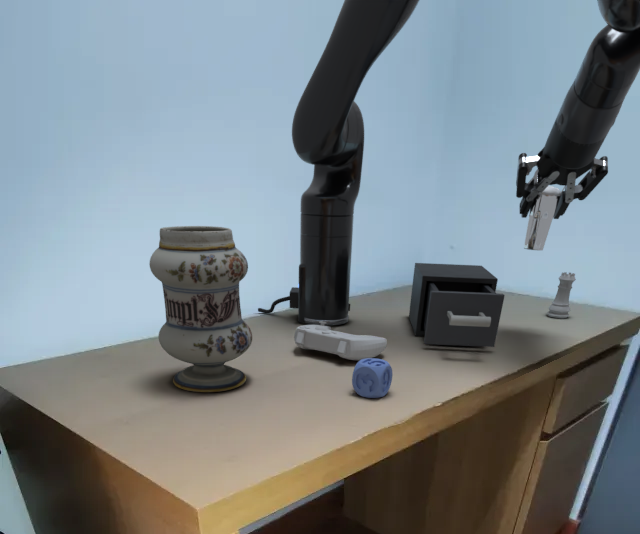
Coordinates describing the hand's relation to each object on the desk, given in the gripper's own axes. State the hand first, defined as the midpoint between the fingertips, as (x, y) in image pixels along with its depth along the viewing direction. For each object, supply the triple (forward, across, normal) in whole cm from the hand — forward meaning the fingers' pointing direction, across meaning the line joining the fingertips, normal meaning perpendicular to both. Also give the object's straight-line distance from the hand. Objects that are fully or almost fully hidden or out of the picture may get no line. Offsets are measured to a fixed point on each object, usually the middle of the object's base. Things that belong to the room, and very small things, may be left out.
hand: (539, 213), depth 96 cm
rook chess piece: (+23, -12, +4) cm, 26 cm away
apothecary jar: (-13, +50, +40) cm, 65 cm away
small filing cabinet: (+13, +13, +14) cm, 23 cm away
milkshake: (+2, 0, +5) cm, 6 cm away
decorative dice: (-14, +28, +41) cm, 52 cm away
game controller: (-2, +33, +29) cm, 44 cm away
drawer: (+3, +13, +22) cm, 26 cm away
